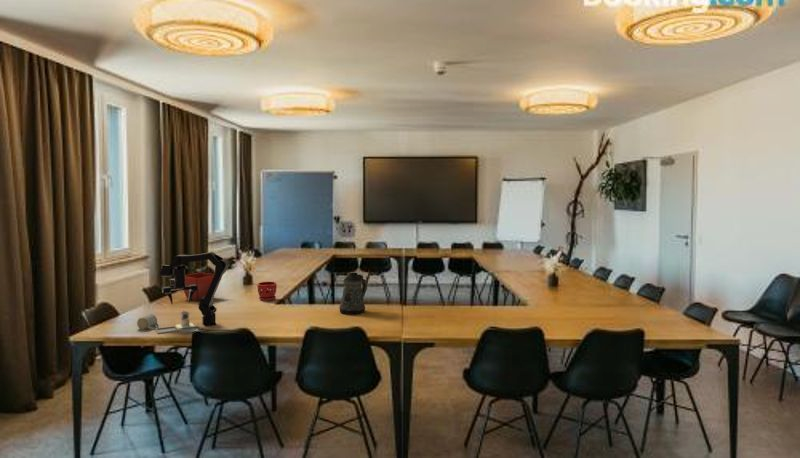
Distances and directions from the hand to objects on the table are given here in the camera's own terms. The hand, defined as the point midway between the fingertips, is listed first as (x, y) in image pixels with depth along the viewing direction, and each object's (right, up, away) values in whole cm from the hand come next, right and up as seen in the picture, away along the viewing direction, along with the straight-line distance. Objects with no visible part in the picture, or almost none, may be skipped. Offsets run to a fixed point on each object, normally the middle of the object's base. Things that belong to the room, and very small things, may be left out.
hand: (180, 303), depth 312 cm
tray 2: (+12, -13, -15) cm, 23 cm away
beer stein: (+97, -10, +34) cm, 103 cm away
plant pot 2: (+33, -7, +70) cm, 78 cm away
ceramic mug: (-13, -13, -10) cm, 21 cm away
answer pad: (+4, -12, -5) cm, 14 cm away
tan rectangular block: (+4, -12, -5) cm, 13 cm away
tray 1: (-1, -13, -16) cm, 20 cm away
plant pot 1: (-16, -7, +73) cm, 75 cm away
